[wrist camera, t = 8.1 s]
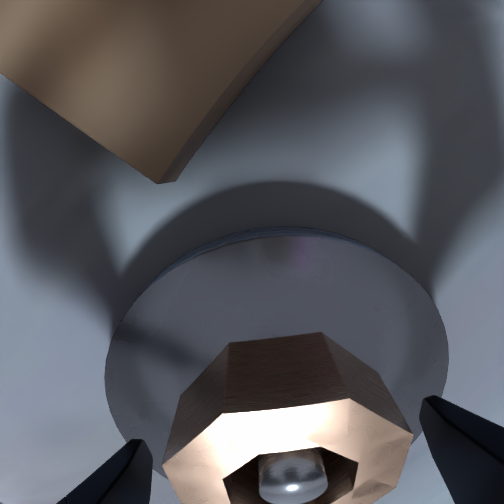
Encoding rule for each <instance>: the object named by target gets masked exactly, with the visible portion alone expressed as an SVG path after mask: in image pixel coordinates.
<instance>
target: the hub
mask: <svg viewBox="0 0 504 504" xmlns="http://www.w3.org/2000/svg"><path fill="white" fill-rule="evenodd" d="M315 332H322V333H324V334H325V335H326V336H328V337H329V338H331V339H332V340H333V341H335V342H336V343H338V344H339V345H340V346H342V347H343V348H344V349H346V350H347V351H349V352H350V353H351V354H353V355H354V356H356V357H357V358H358V359H360V360H361V361H363V362H364V363H365V364H367V365H368V366H370V367H371V368H372V369H374V370H375V371H377V372H378V374H379V375H380V377H381V379H382V380H383V382H384V384H385V386H386V387H387V389H388V391H389V392H390V394H391V396H392V398H393V399H394V401H395V403H396V404H397V406H398V408H399V410H400V411H401V413H402V415H403V417H404V418H405V420H406V422H407V424H408V425H409V427H410V429H411V431H412V433H413V438H412V441H411V444H412V443H413V442H414V441H415V440H416V439H417V438H418V436H419V435H420V434H421V432H422V431H423V429H422V426H421V424H420V421H419V413H420V409H421V404H422V400H423V399H424V398H425V397H428V396H431V395H436V396H439V397H441V396H442V393H443V390H444V386H445V383H446V379H447V372H448V363H449V354H448V341H447V336H446V331H445V327H444V324H443V321H442V319H441V316H440V314H439V311H438V309H437V308H436V306H435V304H434V303H433V301H432V300H431V298H430V296H429V295H428V293H427V292H426V291H425V290H424V289H423V288H422V287H421V285H420V284H419V283H418V282H417V281H416V280H415V279H414V278H413V277H412V276H410V275H409V274H408V273H407V272H405V271H404V270H403V269H401V268H400V267H399V266H397V265H396V264H395V263H393V262H392V261H390V260H389V259H387V258H386V257H385V256H383V255H382V254H380V253H379V252H377V251H375V250H374V249H372V248H370V247H368V246H366V245H364V244H362V243H360V242H358V241H356V240H353V239H351V238H348V237H345V236H342V235H339V234H336V233H333V232H327V231H322V230H317V229H312V228H299V227H273V228H262V229H254V230H249V231H245V232H240V233H236V234H231V235H228V236H225V237H223V238H220V239H217V240H214V241H212V242H209V243H206V244H204V245H202V246H200V247H199V248H197V249H195V250H193V251H191V252H189V253H187V254H185V255H183V256H182V257H181V258H179V259H178V260H177V261H175V262H174V263H172V264H171V265H170V266H168V267H167V268H166V269H164V270H163V271H162V272H161V273H160V274H159V275H158V276H157V277H156V278H155V279H154V280H153V281H152V282H151V283H150V284H149V285H148V286H147V287H146V289H145V290H144V291H143V292H142V294H141V295H140V296H139V297H138V298H137V300H136V301H135V302H134V303H133V305H132V306H131V308H130V309H129V310H128V312H127V313H126V315H125V316H124V317H123V319H122V320H121V322H120V323H119V325H118V328H117V330H116V332H115V334H114V336H113V338H112V340H111V343H110V347H109V350H108V354H107V358H106V366H105V389H106V397H107V401H108V405H109V408H110V412H111V414H112V417H113V419H114V421H115V424H116V426H117V428H118V429H119V431H120V433H121V434H122V436H123V437H124V439H125V441H126V442H128V441H130V440H131V439H143V440H144V441H145V442H146V444H147V446H148V448H149V450H150V452H151V453H152V456H153V468H152V469H154V470H155V471H156V472H158V473H159V474H160V475H162V476H163V477H165V478H167V479H168V477H167V475H166V473H165V471H164V469H163V467H162V462H163V458H164V454H165V450H166V447H167V443H168V439H169V435H170V431H171V428H172V424H173V420H174V417H175V413H176V409H177V406H178V402H179V398H180V395H181V394H182V393H183V392H184V391H185V390H186V389H187V388H188V387H189V386H190V385H191V383H192V382H193V381H194V380H195V379H196V378H197V377H198V376H199V375H200V374H201V373H202V372H203V371H204V370H205V368H206V367H207V366H208V365H209V364H210V363H211V362H212V361H213V360H214V359H215V358H216V357H217V355H218V354H219V353H220V352H221V351H222V350H223V349H224V348H225V347H226V346H227V345H228V343H229V342H238V341H249V340H258V339H268V338H276V337H285V336H293V335H301V334H308V333H315ZM411 444H410V446H411ZM258 470H259V493H260V496H261V497H262V498H263V499H264V500H266V501H268V502H270V503H273V504H301V503H305V502H308V501H311V500H313V499H315V498H317V497H319V496H320V495H321V494H323V493H324V492H325V490H326V489H327V487H328V481H327V476H326V472H325V468H324V464H323V459H322V455H321V451H320V447H313V448H307V449H300V450H292V451H284V452H275V453H264V454H258ZM168 480H169V479H168Z"/></svg>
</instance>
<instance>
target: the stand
mask: <svg viewBox="0 0 504 504" xmlns="http://www.w3.org/2000/svg"><path fill="white" fill-rule="evenodd" d="M322 1H323V0H0V73H1V74H2V75H4V76H5V77H6V78H8V79H9V80H11V81H12V82H13V83H15V84H16V85H18V86H19V87H20V88H22V89H23V90H25V91H26V92H28V93H29V94H30V95H32V96H33V97H35V98H36V99H37V100H39V101H40V102H42V103H43V104H44V105H46V106H47V107H49V108H50V109H52V110H53V111H54V112H56V113H57V114H59V115H60V116H61V117H63V118H64V119H66V120H67V121H68V122H70V123H71V124H73V125H74V126H75V127H77V128H78V129H80V130H81V131H83V132H84V133H85V134H87V135H88V136H90V137H91V138H92V139H94V140H95V141H97V142H98V143H99V144H101V145H102V146H104V147H105V148H106V149H108V150H109V151H111V152H112V153H114V154H115V155H116V156H118V157H119V158H121V159H122V160H123V161H125V162H126V163H128V164H129V165H130V166H132V167H133V168H135V169H136V170H137V171H139V172H140V173H142V174H143V175H145V176H146V177H147V178H149V179H150V180H152V181H153V182H154V183H156V184H162V183H168V182H175V181H176V180H177V178H178V177H179V175H180V174H181V172H182V171H183V170H184V168H185V167H186V165H187V164H188V162H189V161H190V160H191V158H192V157H193V155H194V154H195V152H196V151H197V150H198V148H199V147H200V146H201V144H202V143H203V141H204V140H205V139H206V137H207V136H208V135H209V133H210V132H211V131H212V129H213V128H214V127H215V125H216V124H217V123H218V121H219V120H220V119H221V117H222V116H223V115H224V113H225V112H226V111H227V110H228V108H229V107H230V106H231V104H232V103H233V102H234V101H235V99H236V98H237V97H238V96H239V94H240V93H241V92H242V91H243V89H244V88H245V87H246V86H247V84H248V83H249V82H250V81H251V80H252V78H253V77H254V76H255V75H256V74H257V72H258V71H259V70H260V69H261V68H262V66H263V65H264V64H265V63H266V62H267V61H268V59H269V58H270V57H271V56H272V55H273V54H274V52H275V51H276V50H277V49H278V48H279V47H280V46H281V45H282V43H283V42H284V41H285V40H286V39H287V38H288V37H289V36H290V35H291V33H292V32H293V31H294V30H295V29H296V28H297V27H298V26H299V25H300V24H301V23H302V22H303V21H304V19H305V18H306V17H307V16H308V15H309V14H310V13H311V12H312V11H313V10H314V9H315V8H316V7H317V6H318V5H319V4H320V3H321V2H322Z"/></svg>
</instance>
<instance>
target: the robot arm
mask: <svg viewBox="0 0 504 504" xmlns="http://www.w3.org/2000/svg"><path fill="white" fill-rule="evenodd" d="M419 421H420V424H421V426H422V429H423V432H424V435H425V437H426V440H427V443H428V446H429V449H430V452H431V454H432V457H433V459H434V461H435V463H436V465H437V467H438V469H439V471H440V473H441V475H442V477H443V479H444V482H445V484H446V486H447V488H448V490H449V492H450V494H451V496H452V498H453V501H454V503H455V504H504V427H502V426H500V425H497V424H495V423H493V422H491V421H489V420H487V419H484V418H482V417H480V416H478V415H476V414H474V413H472V412H470V411H467V410H465V409H463V408H461V407H459V406H457V405H455V404H453V403H451V402H449V401H447V400H445V399H443V398H441V397H439V396H436V395H431V396H428V397H425V398H424V399H423V400H422V404H421V409H420V413H419ZM152 468H153V456H152V453H151V452H150V450H149V448H148V446H147V444H146V442H145V441H144V440H143V439H131V440H130V441H128V442H127V443H126V444H125V445H124V446H123V447H122V448H121V449H120V450H118V451H117V452H116V453H115V454H114V455H113V456H112V457H111V458H109V459H108V460H107V461H106V462H105V463H104V464H103V465H102V466H100V467H99V468H98V469H97V470H96V471H95V472H93V473H92V474H91V475H90V476H89V477H88V478H87V479H85V480H84V481H83V482H82V483H81V484H79V485H78V486H77V487H76V488H75V489H74V490H72V491H71V492H70V493H69V494H68V495H66V497H64V498H63V499H61V500H60V501H59V502H58V503H56V504H149V501H150V494H151V481H152Z"/></svg>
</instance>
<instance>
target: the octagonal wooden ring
mask: <svg viewBox="0 0 504 504" xmlns="http://www.w3.org/2000/svg"><path fill="white" fill-rule="evenodd" d="M412 438H413V433H412V431H411V429H410V427H409V425H408V424H407V422H406V420H405V418H404V417H403V415H402V413H401V411H400V410H399V408H398V406H397V404H396V403H395V401H394V399H393V398H392V396H391V394H390V392H389V391H388V389H387V387H386V386H385V384H384V382H383V380H382V379H381V377H380V375H379V374H378V372H377V371H375V370H374V369H372V368H371V367H370V366H368V365H367V364H365V363H364V362H363V361H361V360H360V359H358V358H357V357H356V356H354V355H353V354H351V353H350V352H349V351H347V350H346V349H344V348H343V347H342V346H340V345H339V344H338V343H336V342H335V341H333V340H332V339H331V338H329V337H328V336H326V335H325V334H324V333H322V332H315V333H308V334H301V335H293V336H285V337H276V338H268V339H258V340H249V341H238V342H229V343H228V345H227V346H226V347H225V348H224V349H223V350H222V351H221V352H220V353H219V354H218V355H217V357H216V358H215V359H214V360H213V361H212V362H211V363H210V364H209V365H208V366H207V367H206V368H205V370H204V371H203V372H202V373H201V374H200V375H199V376H198V377H197V378H196V379H195V380H194V381H193V382H192V383H191V385H190V386H189V387H188V388H187V389H186V390H185V391H184V392H183V393H182V394H181V395H180V398H179V402H178V406H177V409H176V413H175V417H174V420H173V424H172V428H171V431H170V435H169V439H168V443H167V447H166V450H165V454H164V458H163V462H162V467H163V469H164V471H165V473H166V475H167V477H168V479H169V481H170V483H171V485H172V486H173V488H174V490H175V492H176V494H177V496H178V498H179V499H180V501H181V503H182V504H273V503H270V502H268V501H266V500H264V499H263V498H262V497H261V496H260V493H259V470H258V454H264V453H275V452H284V451H292V450H300V449H307V448H313V447H320V451H321V455H322V459H323V464H324V468H325V472H326V476H327V481H328V487H327V489H326V490H325V492H324V493H323V494H321V495H320V496H319V497H317V498H315V499H313V500H311V501H308V502H305V503H301V504H372V503H373V502H375V501H376V500H378V499H379V498H381V497H383V496H384V495H386V494H387V493H389V492H390V491H391V490H393V489H394V488H396V486H397V483H398V480H399V478H400V475H401V472H402V469H403V466H404V463H405V460H406V457H407V454H408V451H409V448H410V444H411V441H412Z"/></svg>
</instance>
